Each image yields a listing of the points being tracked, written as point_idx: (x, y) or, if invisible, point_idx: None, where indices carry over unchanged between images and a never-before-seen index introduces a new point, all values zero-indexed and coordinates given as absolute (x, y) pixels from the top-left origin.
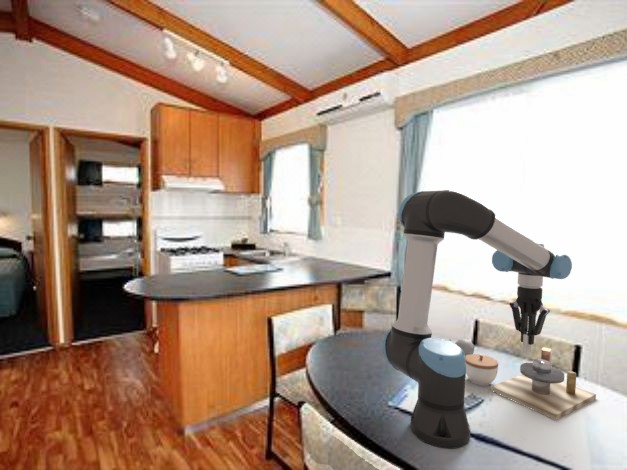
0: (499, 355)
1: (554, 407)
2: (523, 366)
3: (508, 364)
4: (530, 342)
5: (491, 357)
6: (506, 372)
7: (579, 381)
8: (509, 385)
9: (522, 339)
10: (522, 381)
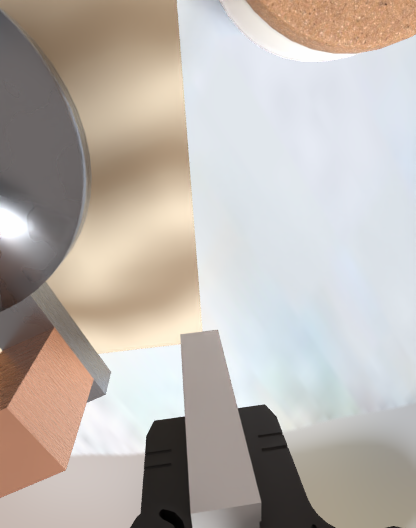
0: (402, 379)
1: None
2: (15, 74)
3: (326, 334)
4: (161, 443)
5: (348, 37)
6: (280, 246)
7: None
8: (120, 25)
9: (261, 434)
10: (131, 174)
